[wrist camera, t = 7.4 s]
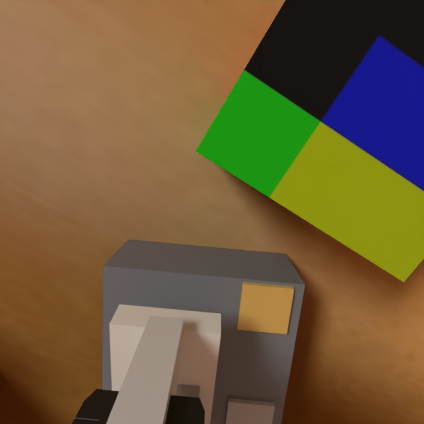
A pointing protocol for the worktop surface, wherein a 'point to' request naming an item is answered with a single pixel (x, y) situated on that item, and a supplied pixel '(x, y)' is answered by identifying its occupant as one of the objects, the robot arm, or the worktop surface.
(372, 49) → the puzzle toy
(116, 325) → the rocker
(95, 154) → the worktop surface
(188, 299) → the console
